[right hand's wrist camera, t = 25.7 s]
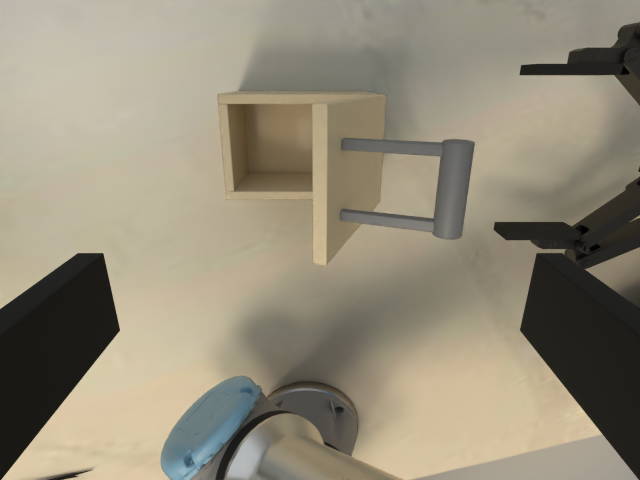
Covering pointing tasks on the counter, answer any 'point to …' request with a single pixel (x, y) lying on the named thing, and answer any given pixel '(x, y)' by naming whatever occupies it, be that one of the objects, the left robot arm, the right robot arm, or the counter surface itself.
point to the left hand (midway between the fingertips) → (512, 156)
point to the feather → (68, 476)
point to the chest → (270, 142)
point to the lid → (374, 175)
